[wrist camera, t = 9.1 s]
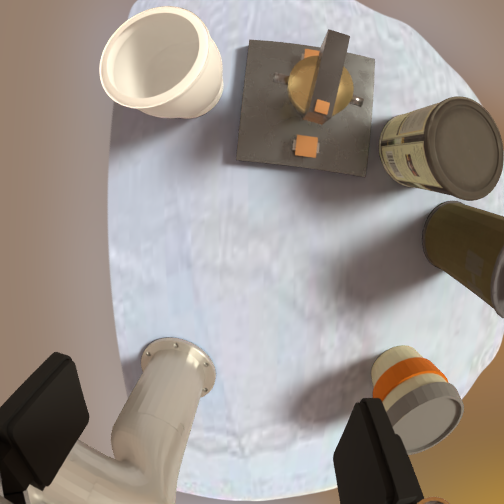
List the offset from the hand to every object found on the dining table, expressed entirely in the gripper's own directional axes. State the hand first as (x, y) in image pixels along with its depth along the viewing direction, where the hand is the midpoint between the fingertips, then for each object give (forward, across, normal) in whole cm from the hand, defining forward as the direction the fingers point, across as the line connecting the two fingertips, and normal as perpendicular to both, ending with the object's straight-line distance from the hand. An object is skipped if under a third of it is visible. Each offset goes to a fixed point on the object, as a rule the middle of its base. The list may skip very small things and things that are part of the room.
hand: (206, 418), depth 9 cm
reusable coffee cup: (+33, -26, +21) cm, 47 cm away
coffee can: (+33, -20, -13) cm, 41 cm away
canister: (+33, -29, -2) cm, 44 cm away
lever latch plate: (+33, -5, -16) cm, 37 cm away
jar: (+33, +10, -18) cm, 39 cm away
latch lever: (+23, -5, -16) cm, 29 cm away
